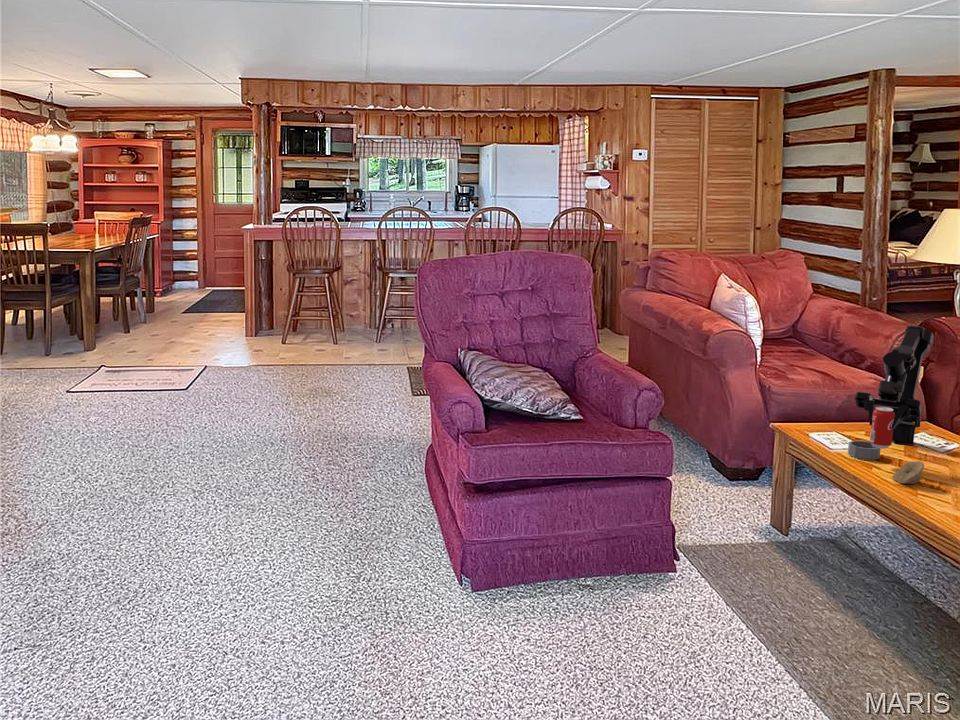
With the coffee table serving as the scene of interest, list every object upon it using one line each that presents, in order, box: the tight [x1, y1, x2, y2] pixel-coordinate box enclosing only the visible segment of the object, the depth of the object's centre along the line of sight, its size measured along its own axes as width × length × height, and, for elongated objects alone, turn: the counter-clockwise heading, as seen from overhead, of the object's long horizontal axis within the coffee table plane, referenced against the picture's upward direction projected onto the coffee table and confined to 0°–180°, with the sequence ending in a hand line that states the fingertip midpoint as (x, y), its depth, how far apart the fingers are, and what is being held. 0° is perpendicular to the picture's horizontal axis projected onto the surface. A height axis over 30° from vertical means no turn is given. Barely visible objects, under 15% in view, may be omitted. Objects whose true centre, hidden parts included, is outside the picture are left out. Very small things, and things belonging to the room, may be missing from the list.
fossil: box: [892, 460, 924, 485], centre depth 264 cm, size 9×4×10 cm
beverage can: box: [869, 406, 895, 449], centre depth 279 cm, size 6×6×12 cm
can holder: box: [847, 440, 882, 461], centre depth 289 cm, size 9×9×4 cm
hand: (881, 426), depth 277 cm, fingers closed on beverage can, 6 cm apart
